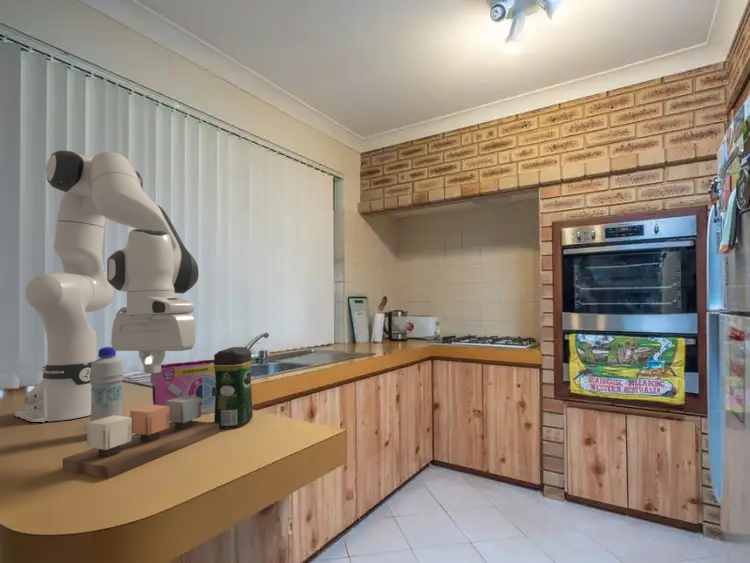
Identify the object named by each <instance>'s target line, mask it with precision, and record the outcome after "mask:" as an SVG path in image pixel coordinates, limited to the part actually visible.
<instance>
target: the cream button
mask: <svg viewBox="0 0 750 563" xmlns="http://www.w3.org/2000/svg"><path fill="white" fill-rule="evenodd" d="M86 424H87V425H86V426H87V428H86V447H87V448H90V449H93V448H97V449H103V450H107V449H110V448H113V447H116V446H118V445H121V444H124V443H127V442H130V441H132V435H133V433H132V417H130V416H124V415H122V416H116V415H113V416H109V417H105V418H102V419H98V420H94V421H91V422H90V421H88V422H87V423H86Z"/></svg>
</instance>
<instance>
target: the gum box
mask: <svg viewBox="0 0 750 563" xmlns="http://www.w3.org/2000/svg"><path fill="white" fill-rule="evenodd" d="M149 379H150V382H151V384H152V405H160V406H166V401H168V400H171V399H175V398H179V397H182V396H191V397H201V416H202V415H207V414H213V413H214V414H215V383H216V380H215V369H214V359H207V360H196V361H195V360H194V361H185V362H175V363H164V364H161V372H159V373H150V376H149Z"/></svg>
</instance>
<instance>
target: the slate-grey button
mask: <svg viewBox="0 0 750 563" xmlns="http://www.w3.org/2000/svg"><path fill="white" fill-rule="evenodd" d="M166 406H169V423H171V422H178V423H185V422H187V421H190V420H192V421H194V420H195V419H199V418H201V417H202V415H201V397H191V396H182V397H179V398H175V399H171V400H168V401H166Z"/></svg>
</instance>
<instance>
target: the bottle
mask: <svg viewBox="0 0 750 563" xmlns="http://www.w3.org/2000/svg"><path fill="white" fill-rule="evenodd" d="M116 354H117V351H115V350H114V349H113V348H112V346H106V347H104V346H103V347H102V348H100V349H99V350H98V353H97V357H98V358H97V360H96V361H94V362H92V364H91V371H90V376H89V377H90V383H91V415H90V417H89V422H91V421H94V420H98V419H102V418H105V417H109V416H113V415H116V416H123V410H122V408H123V407H122V403H123V402H122V399H123V398H122V397H123V396H122V395H123V394H122V391H123V390H122V389H123V388H122V386H123V384H122V382H123V381H124V368H123V361H122V359H120V358H117V357H116V356H117V355H116Z"/></svg>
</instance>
